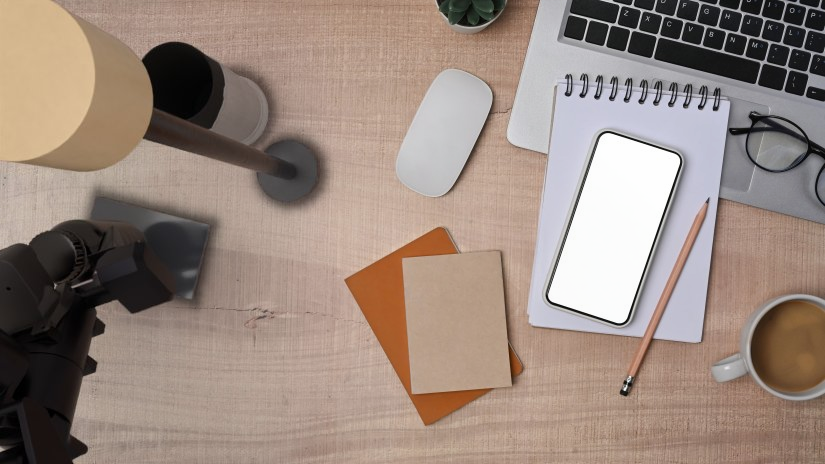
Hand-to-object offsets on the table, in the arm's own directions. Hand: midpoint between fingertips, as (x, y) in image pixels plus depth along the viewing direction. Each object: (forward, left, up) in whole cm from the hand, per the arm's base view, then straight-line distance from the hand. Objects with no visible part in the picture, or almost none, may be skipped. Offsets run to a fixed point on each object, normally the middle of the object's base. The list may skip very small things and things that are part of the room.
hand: (81, 240), depth 59 cm
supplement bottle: (-1, -1, -7) cm, 7 cm away
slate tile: (-1, -1, -12) cm, 12 cm away
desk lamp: (+17, -8, -12) cm, 23 cm away
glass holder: (+16, +4, -12) cm, 21 cm away
